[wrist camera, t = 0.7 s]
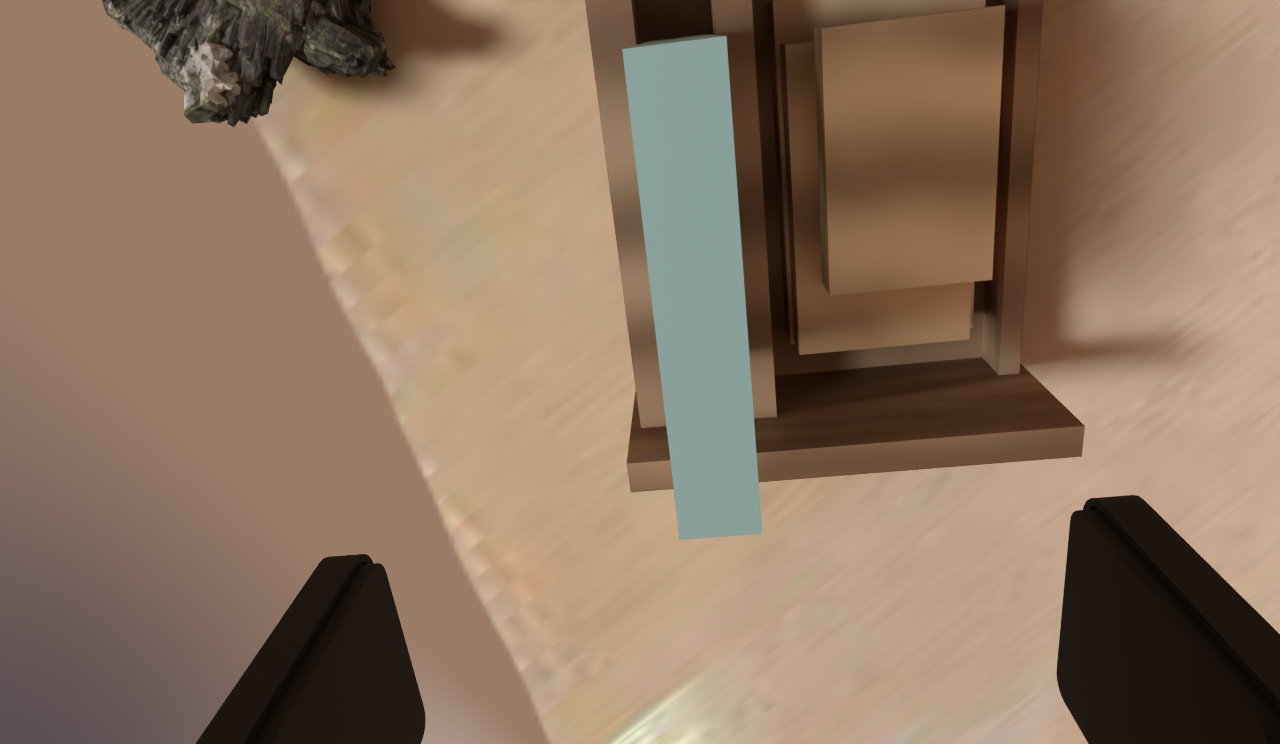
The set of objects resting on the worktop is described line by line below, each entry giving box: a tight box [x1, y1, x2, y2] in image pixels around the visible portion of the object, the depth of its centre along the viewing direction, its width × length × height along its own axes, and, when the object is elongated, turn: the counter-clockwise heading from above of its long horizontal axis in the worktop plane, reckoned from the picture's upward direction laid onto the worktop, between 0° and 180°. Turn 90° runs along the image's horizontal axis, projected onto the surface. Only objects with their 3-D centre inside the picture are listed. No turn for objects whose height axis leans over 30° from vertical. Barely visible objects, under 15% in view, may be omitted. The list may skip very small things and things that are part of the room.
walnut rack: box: [585, 0, 1085, 492], centre depth 37 cm, size 24×20×10 cm
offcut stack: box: [768, 0, 1005, 355], centre depth 37 cm, size 16×9×6 cm, turn 7°
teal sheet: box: [622, 34, 762, 540], centre depth 31 cm, size 14×2×20 cm, turn 7°
